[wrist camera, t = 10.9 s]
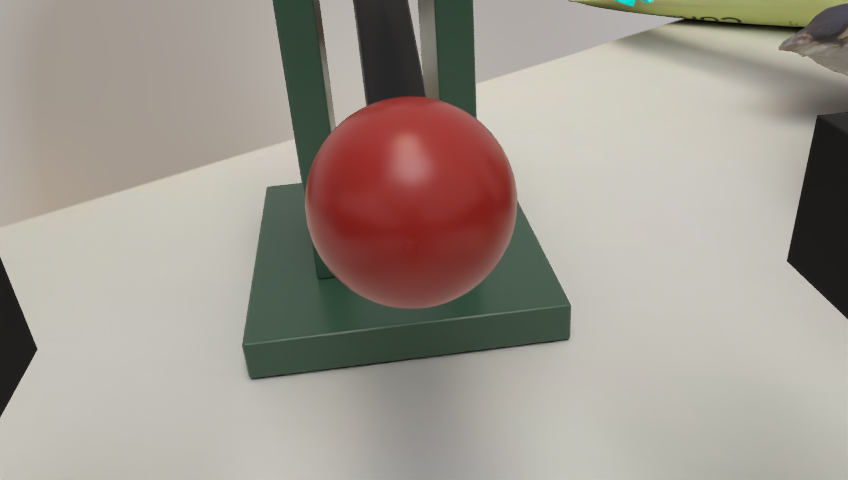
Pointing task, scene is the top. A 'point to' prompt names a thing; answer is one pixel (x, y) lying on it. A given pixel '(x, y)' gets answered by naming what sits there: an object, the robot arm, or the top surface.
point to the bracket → (322, 292)
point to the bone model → (632, 2)
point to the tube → (728, 10)
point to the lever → (407, 181)
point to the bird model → (824, 39)
